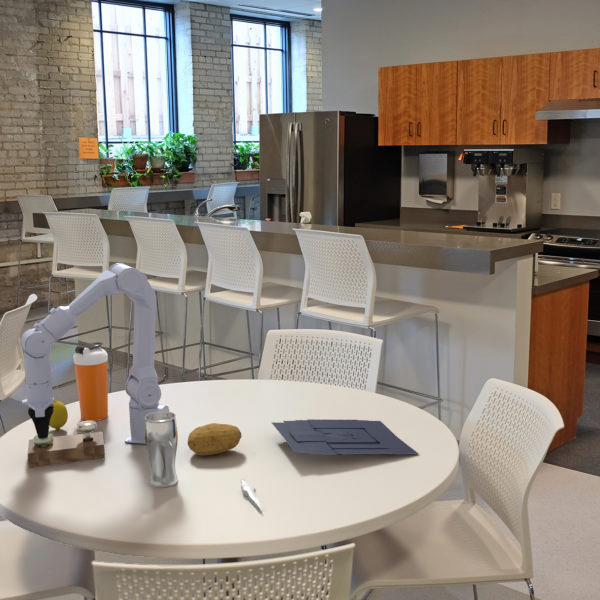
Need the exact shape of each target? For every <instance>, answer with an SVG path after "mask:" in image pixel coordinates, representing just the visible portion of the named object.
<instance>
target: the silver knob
mask: <svg viewBox="0 0 600 600" xmlns="http://www.w3.org/2000/svg"><path fill="white" fill-rule="evenodd" d="M76 427H77V432H79V433H81V434H85V441H86V442H88V441H91V437H90V433H93V432H95V431H96V430H97V429H98V425H97V421H90V420H89V421H85V420H82V421H80V422H78V423H77V426H76Z"/></svg>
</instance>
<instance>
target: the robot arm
mask: <svg viewBox="0 0 600 600" xmlns="http://www.w3.org/2000/svg"><path fill="white" fill-rule="evenodd" d="M119 291H120V292H122V293H123V294H125V295H126V296H127V297H128V298H129V299H130V300H131V301H132V302H133V306H134V309H133V338H132V339H133V343H132V344H133V346H132V348H133V349H132V365H131V367H130V369H129V374H128V377H127V380H126V382H125V385H124V388H125V389H124V390H125V392H126V394H127V395H128V396H129V397H130V399H129V402H128V411H129V412H128V413H129V426H130V427H129V428H130V435H129V436H128V437H127V438H126V439H125V440H124V443H127V444H128V443H130V444H139V445H140V444H144V445H146V443H145V416H146V415H148V414H150V413H153V412H160V411H167V412H170V408H169V406H168V405H164V404H161V403H160V402H159V401H160V400H161V398H162V390H161V387H160V386H159V377H158V374H157V371H156V369H155V354H156V353H155V351H156V350H155V349H156V348H155V347H156V325H157V324H156V323H157V322H156V321H157V295H156V293H155V291H154V288H152V286H151V284H150V282H149V281H148V277H147V275H146V274H144V273H143V272H142V271H140V269H138V268H136V267H132V266H129V265H127V264H125V263H123V262H117V263H113V264H112V265H110V267H109V268H108V269H105V271H103V272H101V273H100V274H99V275H98V277H97V278H96V279H95V280H94V281H92V282H91V283H90V284H89V285H88V286H87V287H86V288H85V289H84V290H83V291H82V292H80V294H79V295H78V296H77V297H76V298H75V299H73V300H72V301H71V302H70V303H69V304H68V305H67V306H61V305H59V306H58V307H56V308H54V307H52V308H51V309H50V310H49V314H48V315H47V316H46V317H45V318H44V319H42V320H41V321H40V322H39V323H37V322H35V323H34V324H33V328H29V329H28V330H26V331H24V332H23V334H22V336H21V338H20V340H19V345H20V348H21V349H22V350H23V351H24V352H23V359H24V363H23V364H24V377H25V378H24V379H25V388H26V398H25V399H22V401H21V404H22V406H28V408H27V409H28V410H27V413H28V415H29V417H30V419H31V421H32V422H33V425H34V428H35V432H36V435H38V438H46V437H48V434H50V433H49V432H50V426H49V424H50V419H51V416H52V414H53V411H54V404H52V403H53V402H54V400H55V397H54V392H53V390H54V389H53V379H52V378H53V377H52V366H51V360H50V353H51V351H52V349H53V345H54V344H55V343H57V342H58V341H59V340H60V339H61V338H62V337H64V336H65V335H66V334H68V332H70V331H71V330H72V329H73V328H74V327H75V326H76V325H77V319H78V317H79V316H80V315H81V314H82V313H84V312H86V311H87V310H89V308H91V306H93V305H94V304H96V303H97V302H98V301H100V300H101V299H103V297H105V296H118V295H120V293H119Z"/></svg>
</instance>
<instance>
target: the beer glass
mask: <svg viewBox="0 0 600 600" xmlns="http://www.w3.org/2000/svg"><path fill="white" fill-rule="evenodd" d="M178 434H179V433H178V424H177V417H176V413H174V412H172V411H169V412H167V411H160V412H153V413H150V414H148V415H146V416H145V443H146V444H145V446H146V447H145V448H146V452H147V455H148V460H149V463H150V464H149V466H150V474H149V481H148V482H149V485H150V486H152V487H154V488H169V487H172V486H174V485H176V484H177V483H178V481H179V480H178V474H177V470H176V457H177V451H178V450H177V449H178V441H179V440H178V439H179V435H178Z"/></svg>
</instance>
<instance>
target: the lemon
mask: <svg viewBox="0 0 600 600" xmlns="http://www.w3.org/2000/svg"><path fill="white" fill-rule="evenodd" d="M52 404H54V411H53V414H52V416H51V419H50V424H49V428H53V429H55V430H56V431H59V430H60V429H61V428H63V427H64V426H65V425H66V424H67V422H68V417H69V416H68V415H69V414H68V409H67V407H66V405H65V404H64V403H63V402H62V401H58V400H57V399H56V400H55V399H54V402H53V403H52Z"/></svg>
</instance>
